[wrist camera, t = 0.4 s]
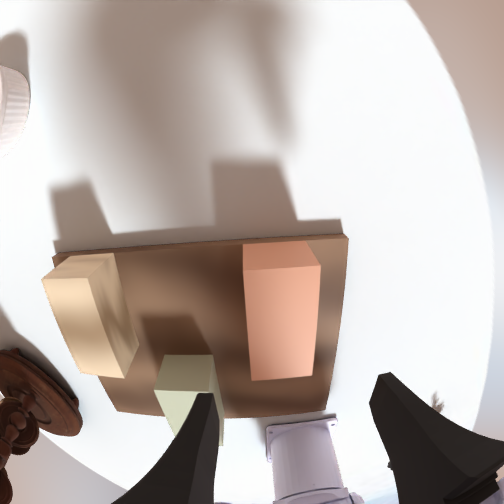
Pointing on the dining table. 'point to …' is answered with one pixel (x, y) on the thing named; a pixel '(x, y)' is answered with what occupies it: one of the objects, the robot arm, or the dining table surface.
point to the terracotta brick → (281, 308)
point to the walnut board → (217, 323)
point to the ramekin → (12, 107)
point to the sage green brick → (186, 387)
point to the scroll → (29, 411)
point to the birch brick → (92, 314)
